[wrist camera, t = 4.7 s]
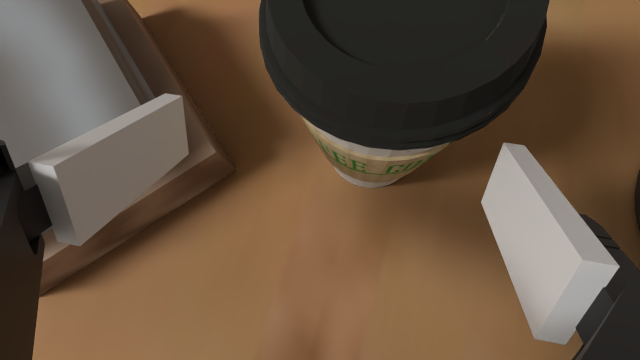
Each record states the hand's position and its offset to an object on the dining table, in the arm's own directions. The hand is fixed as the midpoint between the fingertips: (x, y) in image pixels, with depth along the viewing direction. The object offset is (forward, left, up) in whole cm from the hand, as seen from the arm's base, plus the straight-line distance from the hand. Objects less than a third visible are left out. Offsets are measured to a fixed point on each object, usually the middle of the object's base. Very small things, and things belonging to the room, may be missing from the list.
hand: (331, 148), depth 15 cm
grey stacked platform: (+13, -14, -10) cm, 21 cm away
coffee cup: (-4, -2, -10) cm, 11 cm away
